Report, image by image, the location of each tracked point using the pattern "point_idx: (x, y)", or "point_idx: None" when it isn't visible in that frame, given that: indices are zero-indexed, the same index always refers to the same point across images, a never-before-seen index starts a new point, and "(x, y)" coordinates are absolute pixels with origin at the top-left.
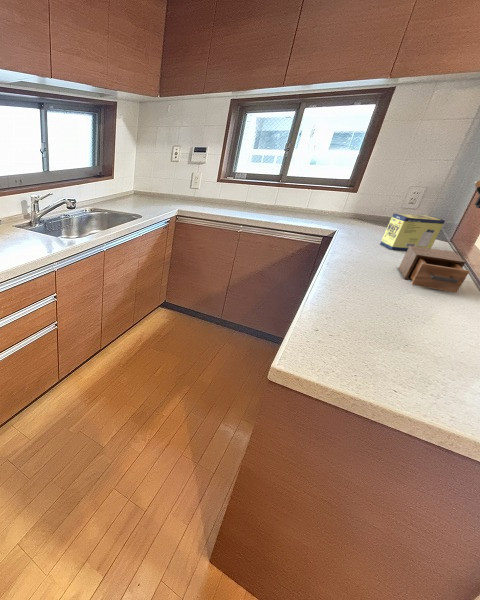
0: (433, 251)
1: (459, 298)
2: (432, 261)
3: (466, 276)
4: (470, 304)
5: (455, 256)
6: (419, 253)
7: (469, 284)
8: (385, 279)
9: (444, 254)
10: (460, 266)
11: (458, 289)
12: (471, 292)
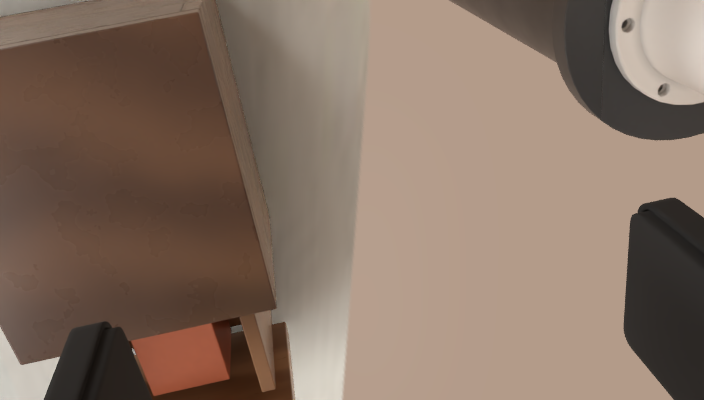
0: (74, 157)
1: (302, 352)
2: None
3: (294, 397)
4: (334, 390)
5: (219, 197)
6: (21, 316)
7: (350, 63)
8: (6, 344)
9: (153, 196)
10: (260, 345)
11: (289, 346)
12: (348, 220)
